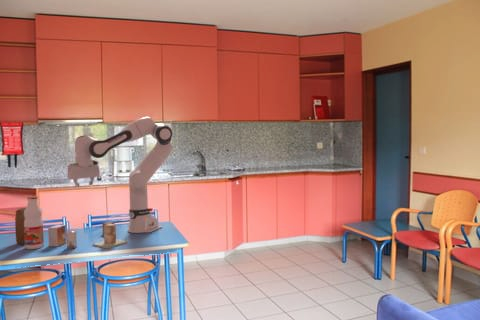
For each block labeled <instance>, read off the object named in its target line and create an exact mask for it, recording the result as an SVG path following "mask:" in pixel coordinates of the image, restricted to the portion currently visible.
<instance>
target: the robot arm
mask: <svg viewBox="0 0 480 320" xmlns="http://www.w3.org/2000/svg"><path fill="white" fill-rule="evenodd" d="M148 135H151V137H153V138H154V139H155V140H156V144H155V145H154V147H153V148H151V150H149V152H148V153H147V154H146V155H145V157H143V158H142V160H141V162H140V163H139V164H138V165H137V166H136V168H135V169H133V170H132V171H131V172H130V173H129V176H128V180H129V181H128V183H129V186H128V187H129V210H128V211H129V212H128V214H129V225H128V229H127V232H128V233H131V234H141V233H143V234H144V233H151V232H154V231H157V230H160V229H161V228H163V226H162V225H160V224H159V220H158V218H157V217H155V216H154V215H153V214H151V212H153V211H154V210H153V209H154V208H151V207H149V205H148V201H149V200H148V182H149V181H150V180H151V178H152V177H153V176H154V175H155V174H156V172H157V171H158V169H159V168H160V167H161V166H162V165H163V163H165V161H166V160H167V159H168V158H169V156H170V155H171V153H172V151H174V150H173V148H174V147H173V144H172V137H173V130H172V128H171V127H170V126H169V125H167V124H165V123H162V122H155V121H154V119H153V118H151V117H150V116H145V117H142V118H138V119H135V120H134V121H132V122H130V123H128V124H127V125H125V126H124V127H123V128H122V129H121V130H120V131H119V132H118V133H116V134H115V135H113V136H111V137H108V138H105V139H103V140H102V139H101V140H100V139H99V140H98V139H96V138H93V137H91V136H90V135H87V134H85V135H81V136H77V137H76V138H75V141H74V152H75V157H74V159H75V163H70V164H68V166H67V176H66V177H67V178H66V179H68V180H71V181H72V180H73V183H74V184H75V185H74V186H75V187H76V188H77V187H80V183H78V180H79V179H90V181H89V182H88V184H89V185H88V186H93V185H94V183H93V182H94V181H95V178H97V177H100V172H101V171H100V166H99V163H100V162H99V161H98V160H95V159H92V157H93V158H96V159H101V158H103V157H105V156H106V155H107V154H108V152H109V151H111V150H112V149H114V148H116V147H118V146H120V145H122V144H124V143H129V142H133V141H137V140H139V139H141V138H143V137H145V136H148Z"/></svg>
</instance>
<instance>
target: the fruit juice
mask: <svg viewBox="0 0 480 320" xmlns="http://www.w3.org/2000/svg"><path fill="white" fill-rule="evenodd" d="M25 208H26V209H25V210H24V217H25V220H24V239H25V244H24V248H25V249H26V250H35V249H37V250H38V249H41V248H43V247H44V246H45V242H44V241H45V240H44V239H45V237H44V236H45V235H44V220H43V217H42V215H43V210H42V208H41V207H40V204H39V203H38V196H37V195H32V196H27V204H26V207H25Z"/></svg>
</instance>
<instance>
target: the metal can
mask: <svg viewBox="0 0 480 320" xmlns="http://www.w3.org/2000/svg"><path fill="white" fill-rule="evenodd" d="M77 248H78V247H77V230H68V231H66V249H67V250H75V249H77Z"/></svg>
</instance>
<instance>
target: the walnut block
mask: <svg viewBox="0 0 480 320" xmlns="http://www.w3.org/2000/svg"><path fill="white" fill-rule="evenodd" d="M107 224H115V222H113V221H105V222H103V223H102V235H104V225H107Z"/></svg>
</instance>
